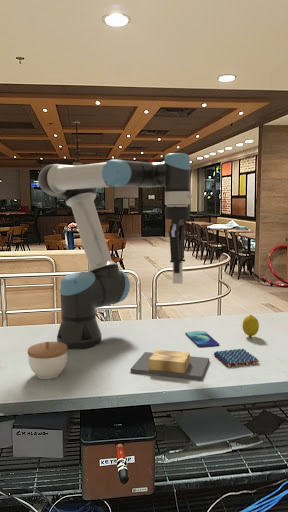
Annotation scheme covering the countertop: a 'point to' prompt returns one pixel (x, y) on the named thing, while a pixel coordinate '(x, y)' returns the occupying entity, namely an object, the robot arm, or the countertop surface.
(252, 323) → the lemon
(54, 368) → the lidded jar
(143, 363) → the mat
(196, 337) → the smartphone
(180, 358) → the block
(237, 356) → the woven mat
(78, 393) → the countertop surface
